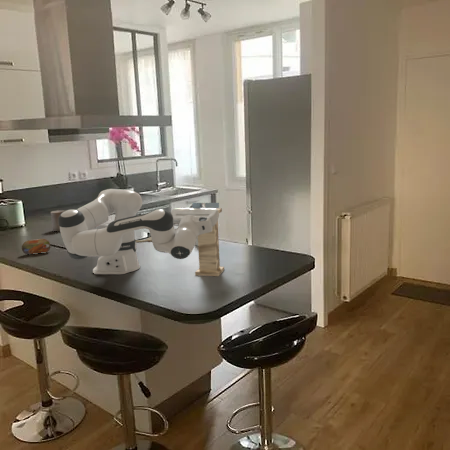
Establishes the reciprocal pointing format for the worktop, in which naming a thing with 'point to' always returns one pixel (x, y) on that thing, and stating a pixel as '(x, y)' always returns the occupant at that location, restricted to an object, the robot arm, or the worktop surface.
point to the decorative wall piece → (145, 240)
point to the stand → (209, 253)
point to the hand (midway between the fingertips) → (198, 204)
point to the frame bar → (206, 205)
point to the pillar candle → (55, 219)
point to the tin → (36, 246)
